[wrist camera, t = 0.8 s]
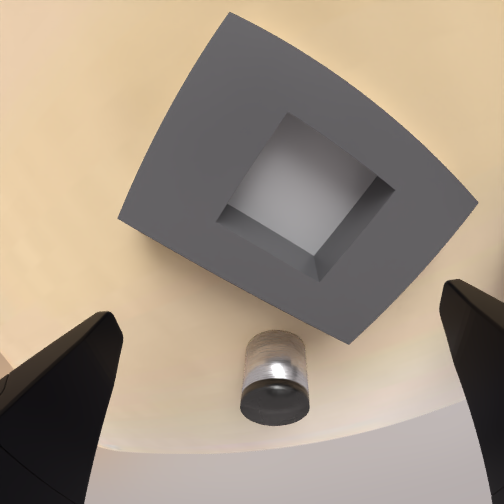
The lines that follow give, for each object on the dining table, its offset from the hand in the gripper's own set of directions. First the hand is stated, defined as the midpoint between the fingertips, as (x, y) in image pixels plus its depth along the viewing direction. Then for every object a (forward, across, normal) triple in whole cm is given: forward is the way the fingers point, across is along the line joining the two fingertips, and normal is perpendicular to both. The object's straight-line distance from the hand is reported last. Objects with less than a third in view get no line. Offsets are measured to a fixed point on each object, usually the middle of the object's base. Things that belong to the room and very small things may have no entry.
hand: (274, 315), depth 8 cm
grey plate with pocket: (+13, -1, 0) cm, 13 cm away
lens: (+13, +2, +15) cm, 20 cm away
